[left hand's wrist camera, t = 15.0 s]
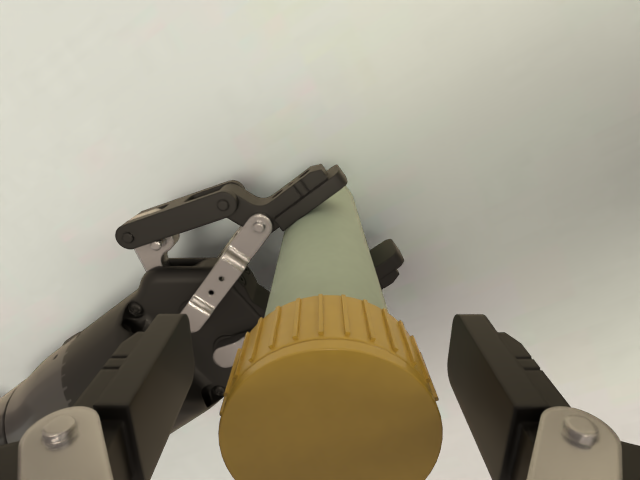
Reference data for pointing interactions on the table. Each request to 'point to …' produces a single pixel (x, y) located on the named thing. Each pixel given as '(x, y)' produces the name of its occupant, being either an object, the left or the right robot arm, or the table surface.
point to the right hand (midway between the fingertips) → (369, 213)
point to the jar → (326, 256)
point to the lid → (329, 397)
